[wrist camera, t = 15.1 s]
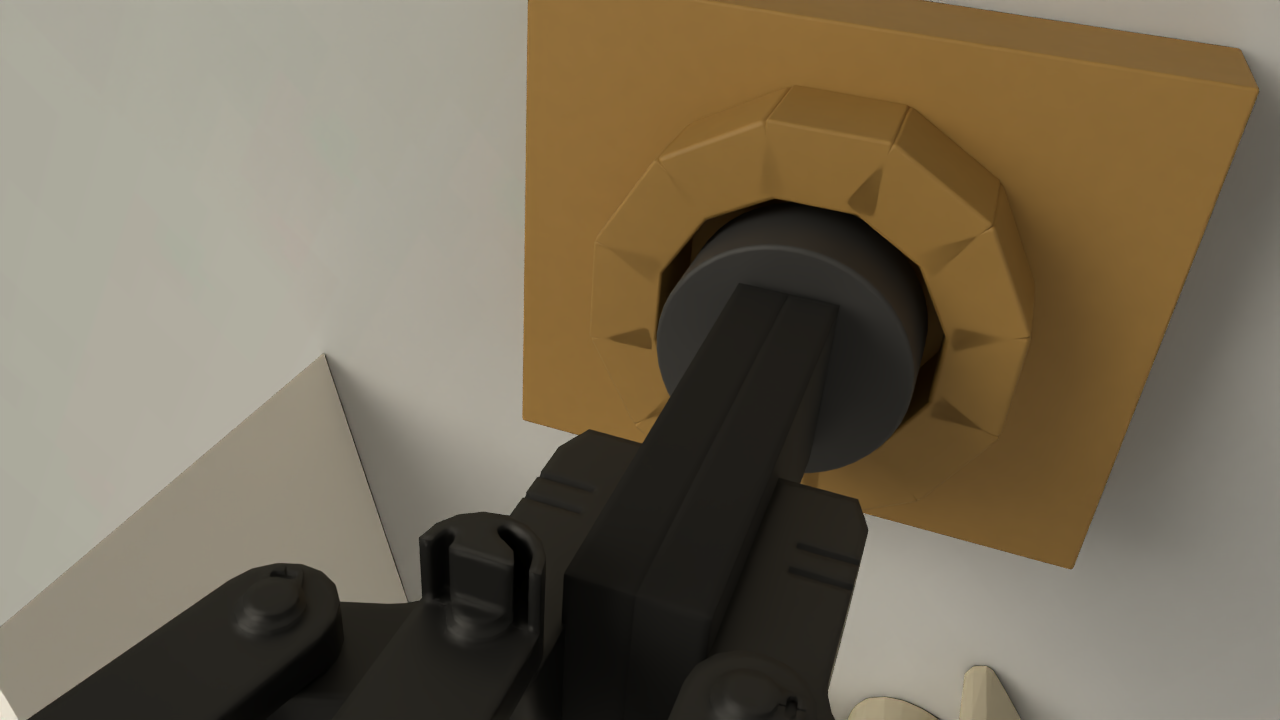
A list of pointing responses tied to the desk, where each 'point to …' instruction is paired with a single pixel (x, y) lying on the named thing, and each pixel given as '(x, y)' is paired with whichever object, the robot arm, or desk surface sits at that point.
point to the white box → (209, 543)
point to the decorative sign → (982, 705)
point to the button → (824, 271)
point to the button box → (885, 220)
